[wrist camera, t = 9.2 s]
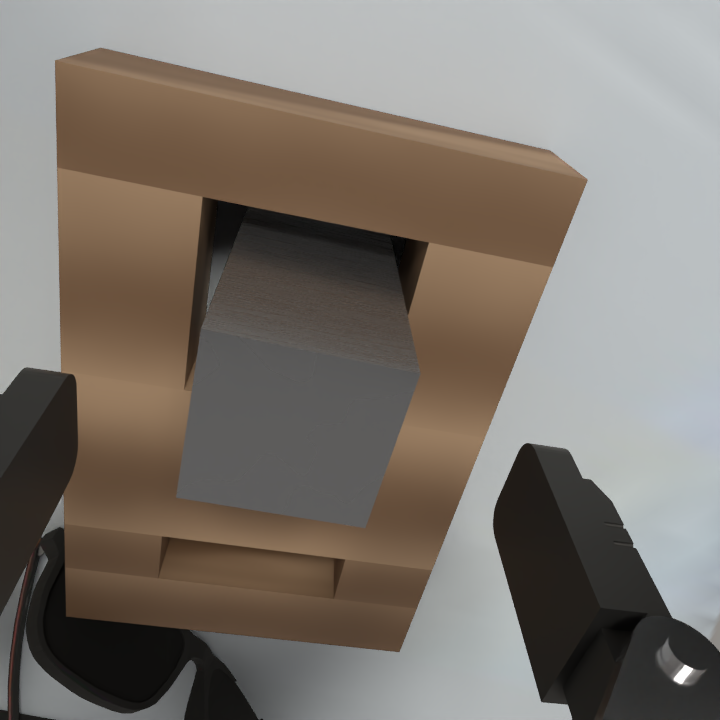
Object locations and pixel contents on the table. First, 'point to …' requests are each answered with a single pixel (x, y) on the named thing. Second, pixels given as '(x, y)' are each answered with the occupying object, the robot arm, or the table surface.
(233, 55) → the table surface
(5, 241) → the table surface
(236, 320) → the square bit
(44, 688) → the table surface
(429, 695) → the table surface
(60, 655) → the sunglasses
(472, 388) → the bore block
